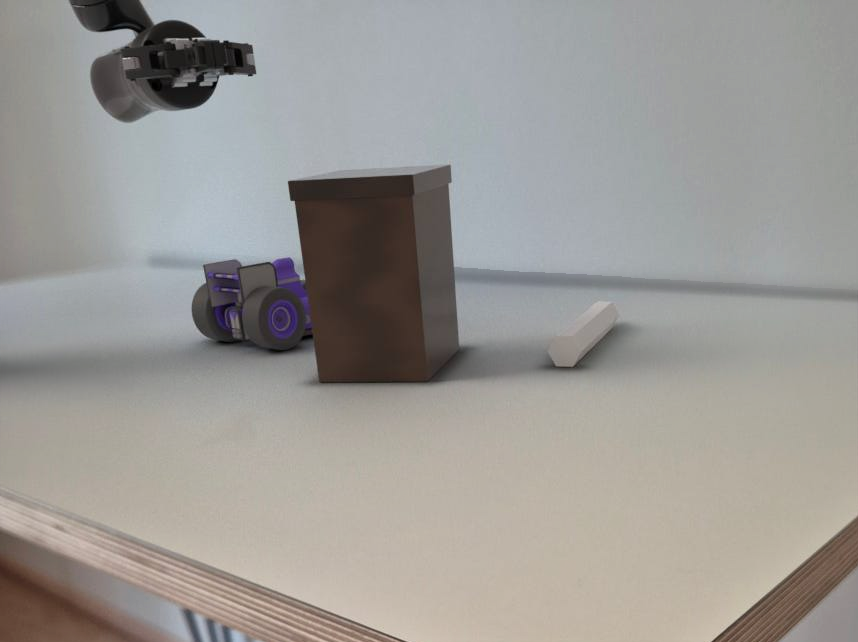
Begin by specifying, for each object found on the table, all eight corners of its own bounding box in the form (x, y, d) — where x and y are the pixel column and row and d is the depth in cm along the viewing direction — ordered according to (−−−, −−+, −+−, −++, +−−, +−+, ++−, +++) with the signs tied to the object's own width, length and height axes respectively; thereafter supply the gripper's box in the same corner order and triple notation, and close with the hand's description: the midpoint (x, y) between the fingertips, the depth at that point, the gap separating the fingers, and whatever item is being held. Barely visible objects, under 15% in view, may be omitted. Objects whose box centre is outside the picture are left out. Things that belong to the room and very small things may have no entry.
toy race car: (398, 321, 87) (390, 244, 84) (264, 356, 77) (250, 270, 74) (328, 313, 93) (319, 240, 89) (196, 344, 83) (180, 264, 80)
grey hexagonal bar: (613, 330, 82) (568, 374, 69) (592, 317, 82) (543, 358, 69) (629, 302, 80) (586, 341, 67) (608, 289, 80) (560, 325, 67)
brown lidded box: (311, 383, 68) (282, 181, 62) (357, 350, 77) (336, 170, 71) (429, 382, 67) (412, 174, 60) (462, 348, 75) (450, 164, 69)
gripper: (93, 25, 93) (126, 3, 79) (228, 23, 98) (280, 2, 84) (111, 114, 96) (146, 107, 83) (241, 107, 102) (293, 100, 88)
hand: (214, 54), depth 84 cm, fingers closed
